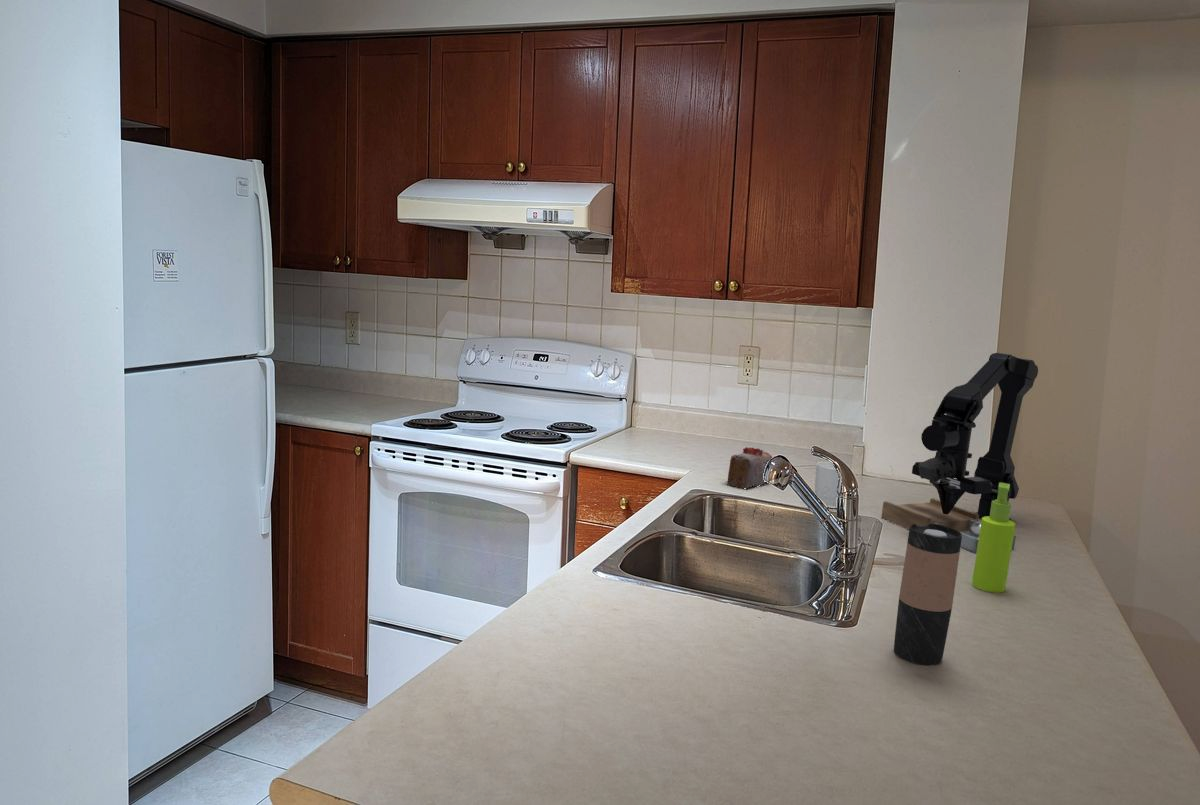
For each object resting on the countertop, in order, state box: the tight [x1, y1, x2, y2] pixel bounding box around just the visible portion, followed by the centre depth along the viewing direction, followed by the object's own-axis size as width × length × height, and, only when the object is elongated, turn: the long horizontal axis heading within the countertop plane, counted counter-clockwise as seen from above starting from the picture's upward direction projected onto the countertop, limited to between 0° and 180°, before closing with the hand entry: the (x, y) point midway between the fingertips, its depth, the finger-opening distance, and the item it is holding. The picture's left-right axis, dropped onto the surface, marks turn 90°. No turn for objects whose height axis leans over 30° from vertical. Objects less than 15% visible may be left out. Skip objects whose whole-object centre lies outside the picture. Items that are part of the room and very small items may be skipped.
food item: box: [726, 447, 773, 489], centre depth 240 cm, size 14×8×10 cm, turn 144°
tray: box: [934, 520, 1017, 554], centre depth 204 cm, size 12×12×3 cm
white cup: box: [814, 461, 850, 507], centre depth 225 cm, size 8×8×10 cm
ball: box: [970, 520, 982, 538], centre depth 201 cm, size 5×5×5 cm
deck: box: [881, 497, 980, 532], centre depth 215 cm, size 16×14×4 cm
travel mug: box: [893, 523, 962, 666], centre depth 139 cm, size 8×8×20 cm
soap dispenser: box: [971, 482, 1016, 594], centre depth 174 cm, size 6×7×20 cm
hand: (945, 513), depth 211 cm, fingers closed
